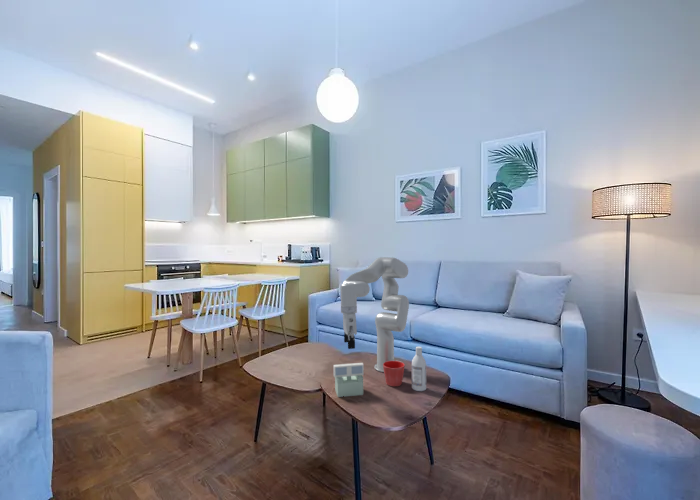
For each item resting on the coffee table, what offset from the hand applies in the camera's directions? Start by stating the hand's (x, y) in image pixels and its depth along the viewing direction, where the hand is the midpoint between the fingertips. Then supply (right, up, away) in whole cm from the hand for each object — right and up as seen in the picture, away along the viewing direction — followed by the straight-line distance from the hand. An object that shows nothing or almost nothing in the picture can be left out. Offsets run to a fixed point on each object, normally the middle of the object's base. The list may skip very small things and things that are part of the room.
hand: (349, 345), depth 150 cm
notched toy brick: (0, -22, 0) cm, 22 cm away
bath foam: (+34, -22, +3) cm, 41 cm away
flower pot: (+22, -22, +9) cm, 33 cm away
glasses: (0, -14, -1) cm, 14 cm away
